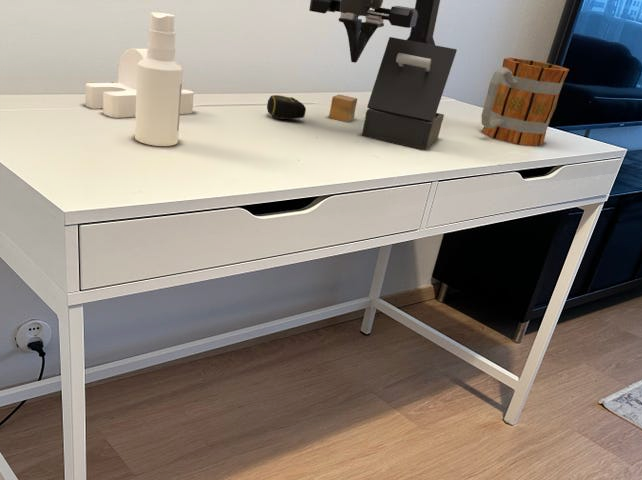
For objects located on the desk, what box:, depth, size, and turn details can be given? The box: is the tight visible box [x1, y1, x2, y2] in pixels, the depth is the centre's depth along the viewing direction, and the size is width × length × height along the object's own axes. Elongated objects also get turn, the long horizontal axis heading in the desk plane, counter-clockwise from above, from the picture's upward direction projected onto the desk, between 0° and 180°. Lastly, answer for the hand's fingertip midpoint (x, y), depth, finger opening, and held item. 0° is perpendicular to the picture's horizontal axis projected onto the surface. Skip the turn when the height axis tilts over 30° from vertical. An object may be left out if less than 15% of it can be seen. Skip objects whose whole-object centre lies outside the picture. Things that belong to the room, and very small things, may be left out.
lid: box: [366, 36, 458, 122], centre depth 120 cm, size 13×13×4 cm
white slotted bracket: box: [85, 47, 195, 119], centre depth 119 cm, size 10×18×10 cm, turn 133°
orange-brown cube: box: [328, 94, 358, 123], centre depth 137 cm, size 4×4×4 cm
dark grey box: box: [361, 108, 445, 151], centre depth 129 cm, size 13×13×5 cm
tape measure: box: [266, 94, 307, 120], centre depth 130 cm, size 7×7×4 cm
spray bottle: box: [134, 11, 184, 147], centre depth 100 cm, size 7×7×18 cm
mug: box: [481, 57, 570, 147], centre depth 140 cm, size 20×14×15 cm
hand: (353, 62), depth 123 cm, fingers closed
